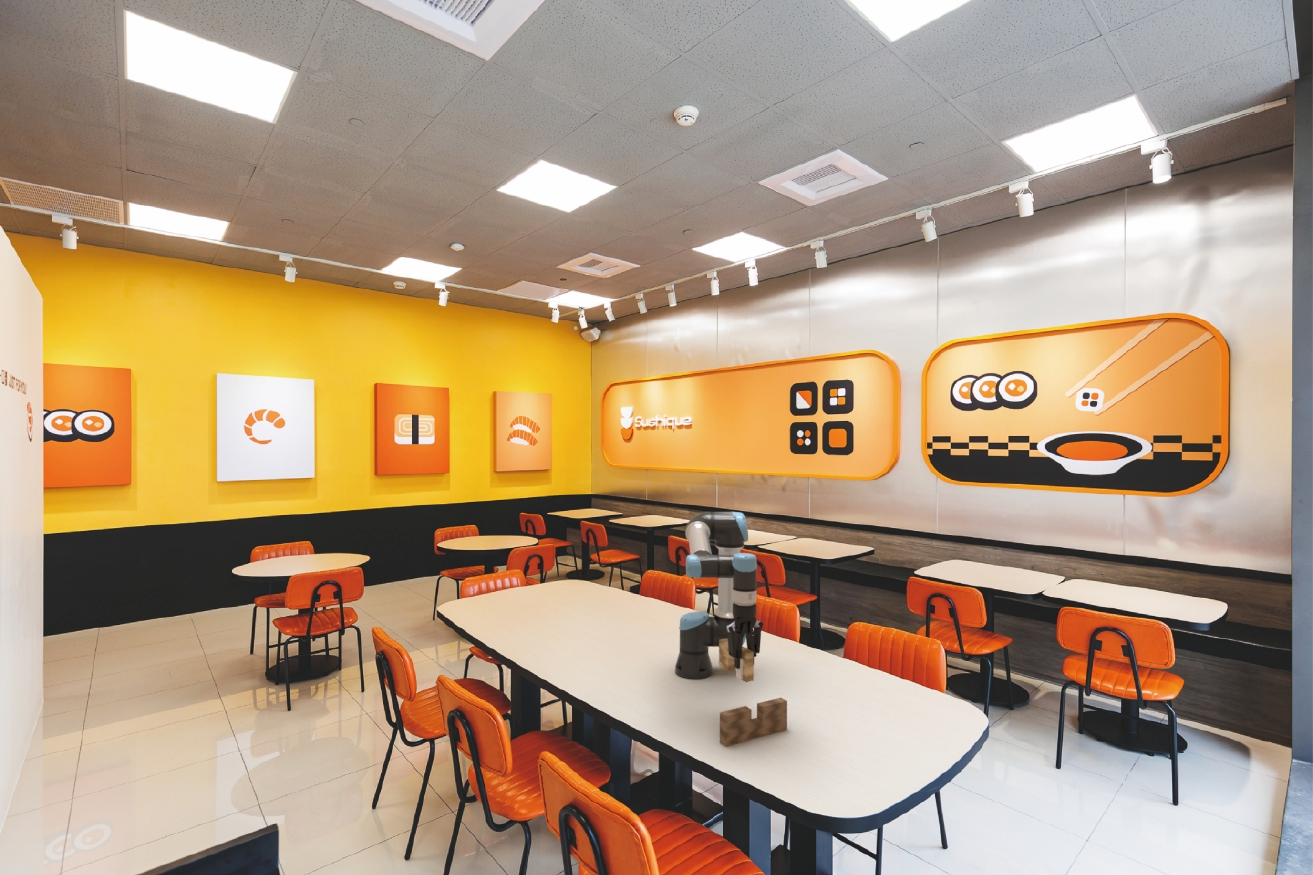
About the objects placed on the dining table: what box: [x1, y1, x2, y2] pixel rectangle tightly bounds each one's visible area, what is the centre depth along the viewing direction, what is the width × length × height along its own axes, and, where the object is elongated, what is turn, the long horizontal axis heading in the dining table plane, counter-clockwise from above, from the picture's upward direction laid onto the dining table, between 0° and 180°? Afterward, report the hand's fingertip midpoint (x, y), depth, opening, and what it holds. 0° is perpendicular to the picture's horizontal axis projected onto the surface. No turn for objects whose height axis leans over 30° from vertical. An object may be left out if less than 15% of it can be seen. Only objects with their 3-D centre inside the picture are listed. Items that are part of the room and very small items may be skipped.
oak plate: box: [718, 639, 755, 683], centre depth 196 cm, size 15×3×9 cm, turn 28°
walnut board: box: [719, 697, 788, 747], centre depth 189 cm, size 24×3×9 cm, turn 119°
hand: (744, 677), depth 192 cm, fingers closed on oak plate, 3 cm apart
